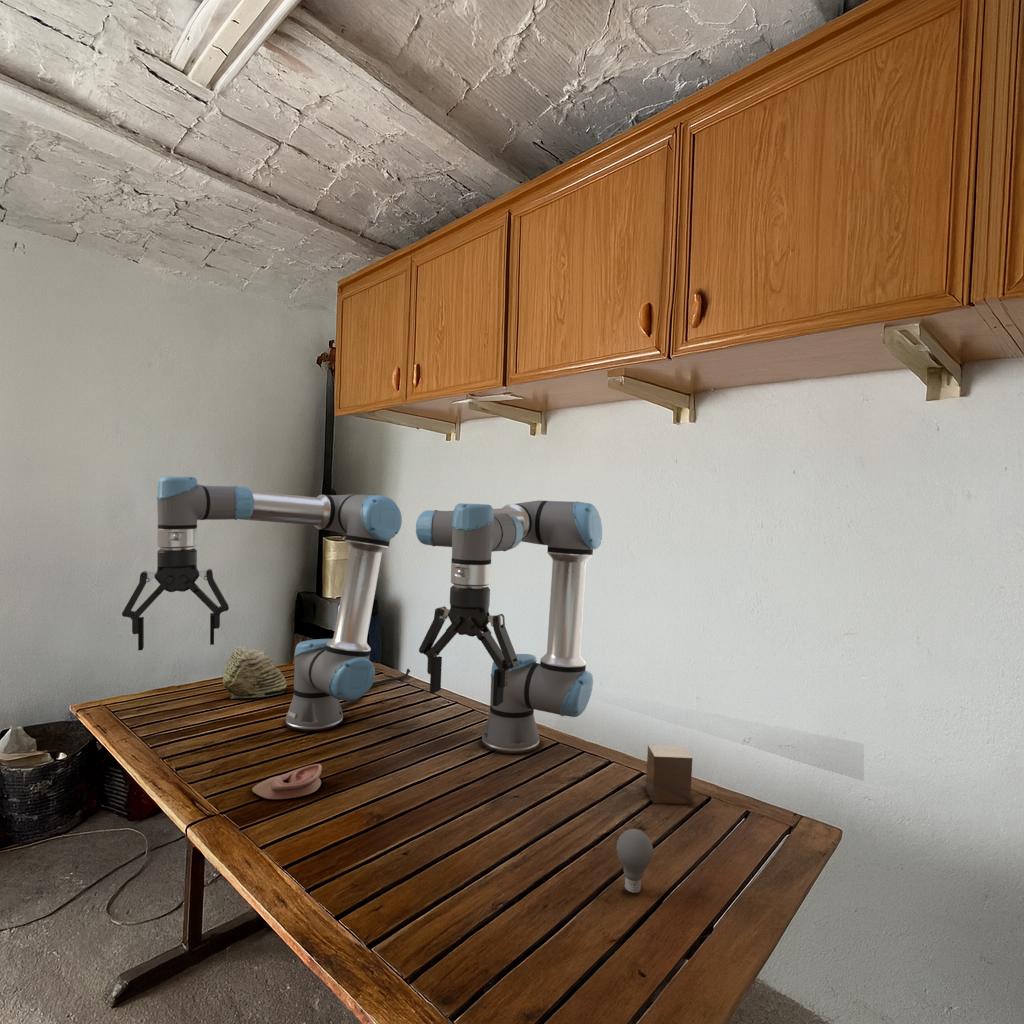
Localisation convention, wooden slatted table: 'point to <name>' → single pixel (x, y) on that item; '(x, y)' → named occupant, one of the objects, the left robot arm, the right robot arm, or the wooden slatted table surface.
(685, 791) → the block
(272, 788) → the anatomical model
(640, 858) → the light bulb
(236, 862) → the wooden slatted table surface
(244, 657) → the fossil
